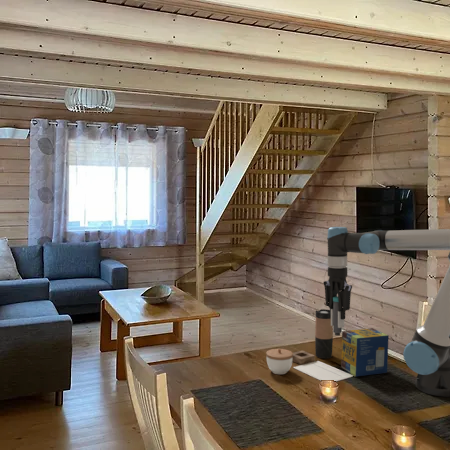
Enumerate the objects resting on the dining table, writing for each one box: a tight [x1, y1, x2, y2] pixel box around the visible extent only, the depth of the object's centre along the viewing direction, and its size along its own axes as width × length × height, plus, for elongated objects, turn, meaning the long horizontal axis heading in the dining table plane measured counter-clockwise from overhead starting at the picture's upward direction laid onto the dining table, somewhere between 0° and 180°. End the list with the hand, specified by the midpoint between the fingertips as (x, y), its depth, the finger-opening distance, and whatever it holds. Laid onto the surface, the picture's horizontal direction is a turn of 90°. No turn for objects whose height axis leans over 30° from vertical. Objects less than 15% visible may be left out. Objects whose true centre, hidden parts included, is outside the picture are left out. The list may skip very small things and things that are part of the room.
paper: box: [293, 360, 354, 383], centre depth 197 cm, size 20×14×1 cm
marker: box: [333, 295, 343, 337], centre depth 191 cm, size 3×3×15 cm
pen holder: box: [292, 350, 316, 366], centre depth 211 cm, size 8×8×2 cm
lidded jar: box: [265, 348, 294, 375], centre depth 198 cm, size 11×11×9 cm
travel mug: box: [314, 308, 334, 359], centre depth 216 cm, size 8×8×20 cm
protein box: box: [340, 328, 389, 377], centre depth 198 cm, size 10×15×16 cm
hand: (337, 326), depth 192 cm, fingers closed on marker, 3 cm apart
